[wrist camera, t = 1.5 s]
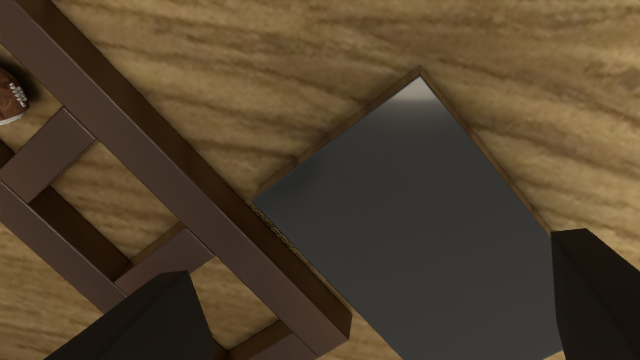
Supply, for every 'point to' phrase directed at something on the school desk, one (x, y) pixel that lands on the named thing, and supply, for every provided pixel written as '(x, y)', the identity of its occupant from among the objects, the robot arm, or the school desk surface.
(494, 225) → the board
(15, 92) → the chocolate
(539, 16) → the school desk surface
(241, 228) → the rack
